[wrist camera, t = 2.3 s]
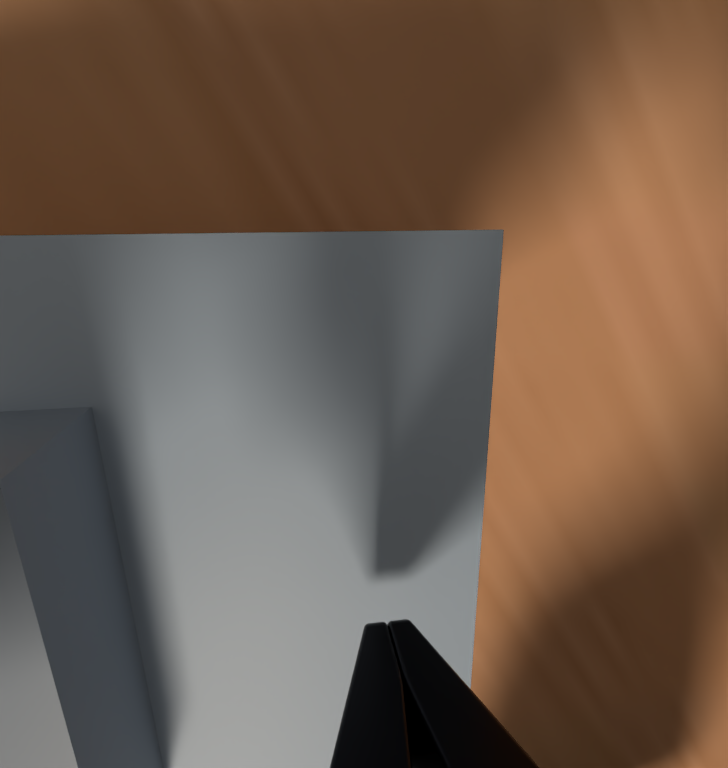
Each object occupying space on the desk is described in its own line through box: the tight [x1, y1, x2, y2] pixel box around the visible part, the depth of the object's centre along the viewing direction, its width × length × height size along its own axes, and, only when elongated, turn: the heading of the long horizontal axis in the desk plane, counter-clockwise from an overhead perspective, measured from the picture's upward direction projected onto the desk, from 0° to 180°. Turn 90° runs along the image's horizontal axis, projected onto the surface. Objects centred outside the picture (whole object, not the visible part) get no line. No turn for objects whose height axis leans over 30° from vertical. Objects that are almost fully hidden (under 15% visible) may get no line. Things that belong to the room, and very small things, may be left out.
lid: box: [0, 230, 504, 768], centre depth 8 cm, size 14×15×3 cm
